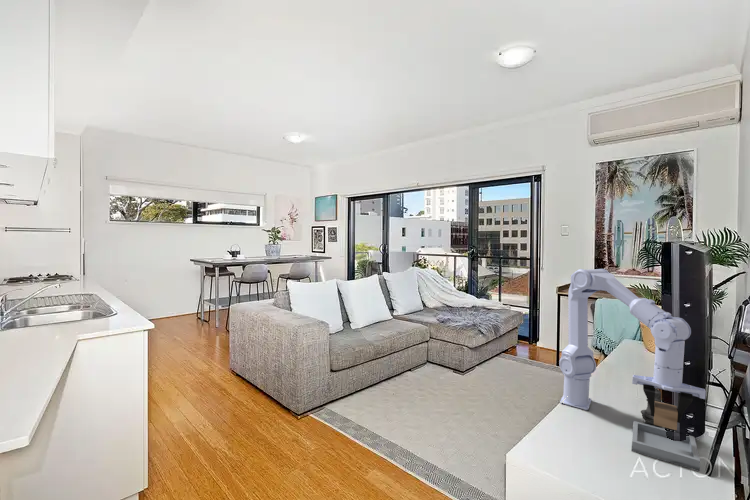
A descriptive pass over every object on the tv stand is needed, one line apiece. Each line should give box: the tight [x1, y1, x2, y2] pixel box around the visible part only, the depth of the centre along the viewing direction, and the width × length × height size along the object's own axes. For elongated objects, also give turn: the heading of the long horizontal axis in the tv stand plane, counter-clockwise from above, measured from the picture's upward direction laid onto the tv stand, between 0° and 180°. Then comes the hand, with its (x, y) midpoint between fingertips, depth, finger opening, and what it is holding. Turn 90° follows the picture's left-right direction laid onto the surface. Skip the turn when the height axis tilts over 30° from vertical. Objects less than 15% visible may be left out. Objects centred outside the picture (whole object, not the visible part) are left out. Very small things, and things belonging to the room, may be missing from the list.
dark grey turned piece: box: [640, 388, 665, 429], centre depth 106 cm, size 6×6×12 cm
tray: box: [631, 420, 701, 472], centre depth 95 cm, size 13×13×2 cm
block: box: [654, 401, 678, 431], centre depth 95 cm, size 4×4×4 cm
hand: (665, 417), depth 95 cm, fingers closed on block, 4 cm apart
